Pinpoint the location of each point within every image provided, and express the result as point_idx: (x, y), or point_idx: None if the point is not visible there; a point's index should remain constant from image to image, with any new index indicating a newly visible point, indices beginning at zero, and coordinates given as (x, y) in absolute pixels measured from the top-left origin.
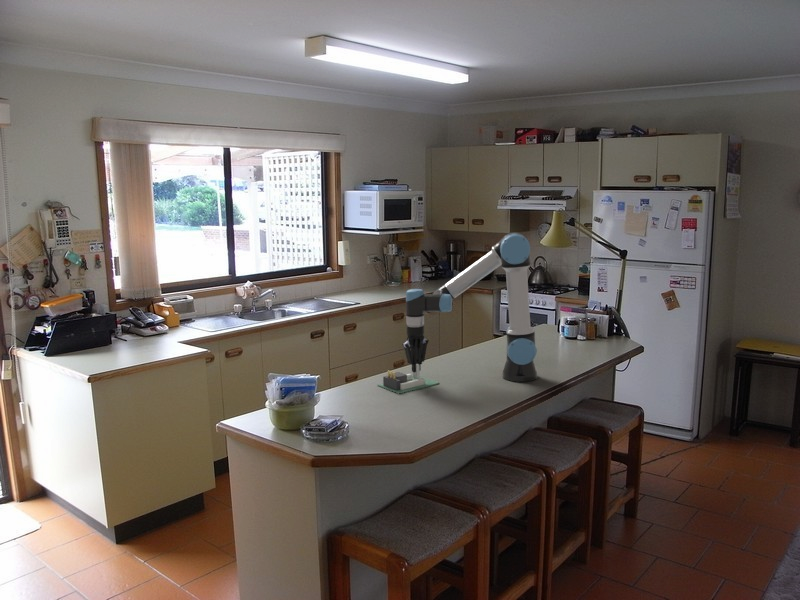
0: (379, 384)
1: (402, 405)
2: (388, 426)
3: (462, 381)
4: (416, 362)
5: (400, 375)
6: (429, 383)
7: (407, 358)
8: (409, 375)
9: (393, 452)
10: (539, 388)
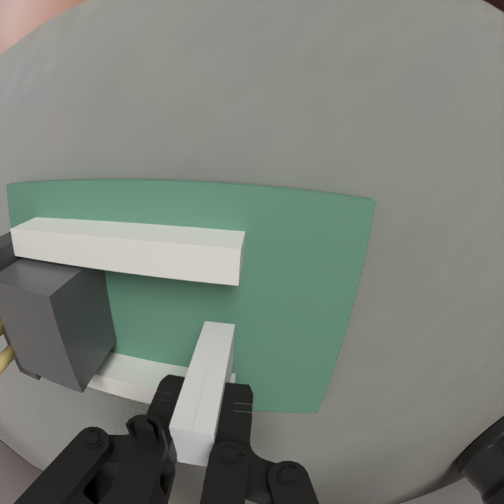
0: (12, 191)
1: (44, 412)
2: (9, 426)
3: (415, 417)
4: (171, 482)
5: (41, 367)
6: (263, 395)
7: (53, 475)
8: (203, 278)
9: (15, 451)
10: (421, 492)
